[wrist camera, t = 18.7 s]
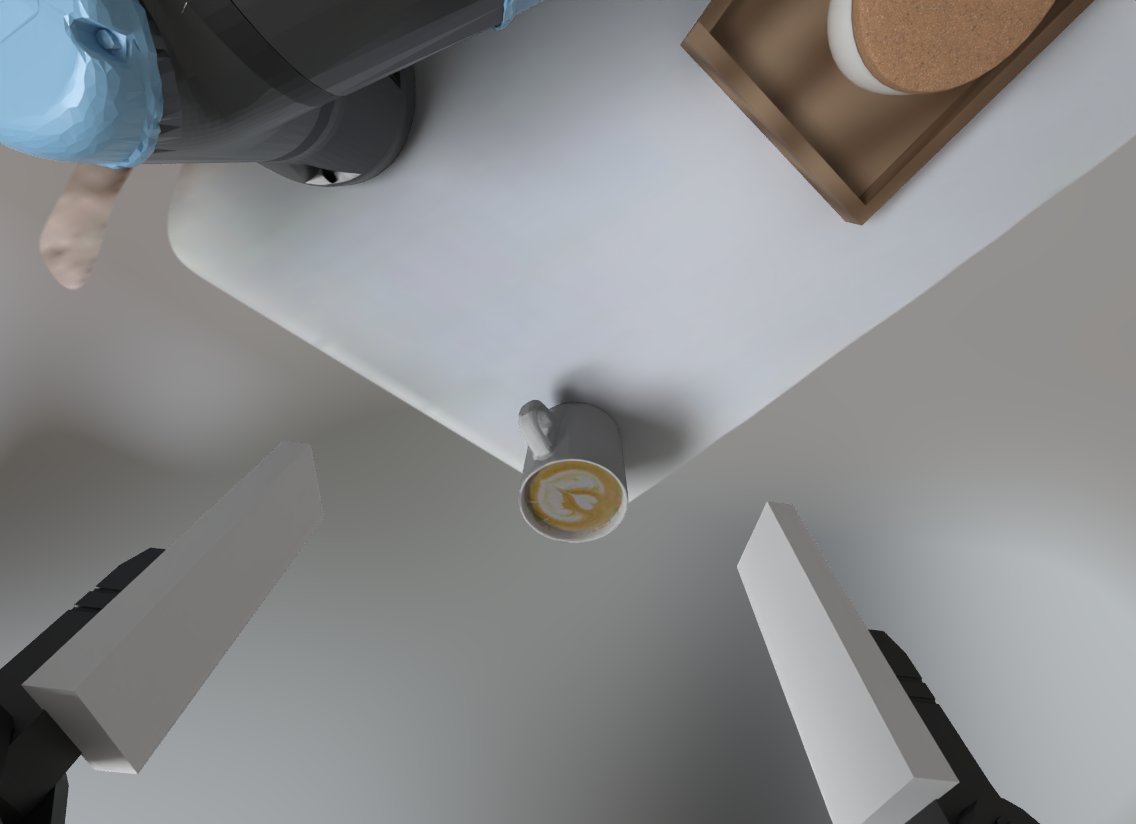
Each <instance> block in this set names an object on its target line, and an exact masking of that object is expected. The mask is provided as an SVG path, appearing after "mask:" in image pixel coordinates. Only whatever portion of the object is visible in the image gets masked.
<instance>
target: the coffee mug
mask: <svg viewBox="0 0 1136 824" xmlns="http://www.w3.org/2000/svg"><path fill="white" fill-rule="evenodd" d="M518 423H519V428H520V432H521V434H522V436H523V438H524V440H525V442H526V443H527V445H528V449H527V454H526V459H525V464H524V469H523V474H522V479H521V484H520V489H519V497H518V501H519V508H520V511H521V513H522V516H523V517H524V519H525V520H526V522H527V523H528V524H529V525H530V526H531V527H532V528H533V529H534V530H535V531H537V532H538V533H540V534H542V535H543V536H546V537H548V538H550V539H553V540H556V541H560V542H567V543H581V542H588V541H593V540H595V539H599V538H601V537H603V536H605V535H607V534H608V533H610V532H612V531H613V530H614V529H615V528H616V527H617V526H618V525H619V524H620V523H621V521H622V520H623V518H624V516H625V514H626V511H627V507H628V492H627V484H626V477H625V469H624V461H623V453H622V445H621V437H620V433H619V429H618V427H617V425H616V423H615V422H614V421H613V419H612V418H611V417H610V416H609V415H608V414H607V413H605V412H604V411H603V410H601V409H599V408H597V407H595V406H593V405H589V404H585V403H575V402H573V403H565V404H561V405H557V406H555V407H552V408H551V409H549V410H548V408H547V407H546V406H545V405H544V404H543V403H542V402H540V401H539V400H532V401H530V402H528V403H526V404H525V405H524V406H522V408H521V410H520V413H519V420H518Z"/></svg>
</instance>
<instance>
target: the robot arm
mask: <svg viewBox="0 0 1136 824" xmlns="http://www.w3.org/2000/svg"><path fill="white" fill-rule="evenodd" d="M542 1H544V0H0V143H2V144H3V145H5V146H7V147H9V148H12V149H14V150H17V151H20V152H23V153H26V154H30V155H33V156H37V157H40V158H45V159H51V160H57V161H68V162H80V163H91V164H97V165H100V166H103V167H110V168H114V169H121V168H124V167H136V166H138V165H140V164H169V163H170V164H172V163H228V162H257V163H259V164H261V165H263V166H264V167H266V168H268V169H270V170H272V171H274V172H276V173H278V174H280V175H282V176H284V177H286V178H289V179H291V180H294V181H297V182H300V183H304V184H308V185H314V186H322V187H335V186H345V185H352V184H357V183H361V182H363V181H366V180H368V179H371V178H373V177H374V176H376V175H378V174H379V173H381V172H382V171H383V170H384V169H386V168H387V167H388V166H389V165H390V164H391V163H392V162H393V160H394V159H395V158H396V157H397V155H398V154H399V152H400V151H401V149H402V147H403V145H404V143H405V141H406V139H407V136H408V133H409V131H410V127H411V124H412V119H413V114H414V106H415V77H414V69H413V64H414V63H416V62H418V61H421V60H423V59H425V58H427V57H429V56H431V55H433V54H436V53H438V52H440V51H442V50H444V49H446V48H448V47H450V46H453V45H455V44H457V43H459V42H461V41H463V40H465V39H467V38H470V37H472V36H474V35H476V34H478V33H480V32H482V31H484V30H487V29H489V28H491V27H493V28H494V29H495V30H497V31H500V30H502V29H505V28H506V26H507V25H509V24H510V23H511V21H512V20H513V18H514V16H516V15H518V14H520V13H522V12H524V11H526V10H528V9H529V8H531V7H533V6H535V5H537V4H539V3H541V2H542ZM323 519H324V514H323V508H322V502H321V497H320V493H319V487H318V481H317V476H316V471H315V466H314V460H313V455H312V450H311V445H310V444H303V443H296V442H288V441H282V442H281V443H280V444H279V445H278V446H277V447H276V448H275V449H274V450H272V451H271V452H270V453H269V454H268V455H267V456H266V457H265V458H264V459H263V460H262V461H261V462H260V463H258V464H257V466H255V467H254V468H253V469H252V470H251V471H250V472H249V473H248V474H247V475H246V476H245V477H243V479H241V480H240V481H239V482H238V483H237V484H236V485H235V486H234V487H233V488H232V489H231V490H230V491H228V492H227V493H226V494H225V495H224V496H223V497H222V498H221V499H220V500H219V501H218V502H217V503H216V504H215V505H214V506H212V507H211V508H210V509H209V510H208V511H207V512H206V513H205V514H204V515H203V516H202V517H201V518H200V519H198V520H197V521H196V522H195V524H193V525H192V526H191V527H190V528H189V529H188V530H187V531H186V532H185V533H184V534H182V535H181V536H180V537H179V538H178V539H177V540H176V541H175V542H174V543H173V544H172V545H171V546H170V547H169V548H168V549H157V548H149V549H147V550H146V551H144V552H142V553H140V554H139V555H137V556H135V557H133V558H132V559H130V560H128V561H126V562H124V563H123V564H121V565H119V566H118V567H117V568H116V569H115V570H114V571H112V572H111V573H110V574H109V575H108V576H107V577H106V578H104V579H103V580H102V581H101V582H100V583H99V584H98V585H97V586H95V589H94V591H90V592H88V593H87V594H86V595H85V596H84V597H83V598H82V599H80V600H79V601H78V602H77V603H76V604H75V605H74V608H73V609H72V610H68V611H67V612H65V613H64V614H63V615H62V616H61V617H60V618H59V619H57V620H56V621H55V622H54V623H53V624H52V625H51V626H49V627H48V628H47V629H46V630H45V631H44V632H43V633H42V634H40V635H39V636H38V637H37V638H36V639H35V640H33V641H32V642H31V643H30V644H29V645H28V646H27V647H25V648H24V649H23V650H22V651H21V652H20V653H19V654H17V655H16V656H15V657H14V658H13V659H12V660H11V661H9V662H8V663H7V664H6V665H5V666H4V667H3V668H1V669H0V824H65V816H66V815H65V814H66V806H67V797H68V787H69V785H68V780H67V775H66V771H67V770H68V769H69V768H70V767H71V766H72V764H73V763H74V762H75V761H76V760H77V758H78V757H79V756H80V755H82V756H83V757H84V758H85V760H86V761H87V762H88V763H89V764H90V765H91V767H93V769H94V770H102V771H111V772H122V773H132V774H138V773H139V772H140V770H141V769H142V767H143V766H144V765H145V764H146V762H147V761H148V759H149V758H150V757H151V755H152V754H153V752H154V751H155V750H156V748H157V747H158V746H159V744H160V743H161V741H162V740H163V739H164V737H165V736H166V735H167V733H168V732H169V730H170V729H171V728H172V726H173V725H174V724H175V722H176V721H177V719H178V718H179V717H180V715H181V714H182V713H183V711H184V710H185V708H186V707H187V706H188V704H189V703H190V702H191V700H192V699H193V697H194V696H195V695H196V693H197V692H198V691H199V689H200V688H201V686H202V685H203V684H204V682H205V681H206V680H207V678H208V677H209V675H210V674H211V673H212V671H213V670H214V669H215V667H216V666H217V664H218V663H219V662H220V660H221V659H222V658H223V656H224V655H225V653H226V652H227V651H228V649H229V648H230V646H231V645H232V644H233V642H234V641H235V640H236V638H237V637H238V636H239V634H240V633H241V631H242V630H243V629H244V627H245V626H246V624H247V623H248V622H249V620H250V619H251V617H252V616H253V615H254V613H255V612H256V611H257V609H258V608H259V606H260V605H261V604H262V602H263V601H264V600H265V598H266V597H267V596H268V594H269V593H270V591H271V590H272V589H273V587H274V586H275V585H276V583H277V582H278V580H279V579H280V578H281V576H282V575H283V574H284V572H285V571H286V569H287V568H288V567H289V565H290V564H291V563H292V561H293V560H294V558H295V557H296V556H297V554H298V553H299V552H300V550H301V549H302V547H303V546H304V545H305V543H306V542H307V541H308V539H309V538H310V536H311V535H312V533H313V532H314V531H315V530H316V528H317V527H318V525H319V524H320V523H321V521H322V520H323ZM737 568H738V571H739V573H740V576H741V579H742V581H743V584H744V587H745V589H746V592H747V595H748V597H749V600H750V602H751V605H752V608H753V611H754V613H755V616H756V619H757V622H758V624H759V627H760V630H761V632H762V635H763V637H764V640H765V643H766V646H767V648H768V651H769V654H770V656H771V659H772V662H773V664H774V667H775V670H776V672H777V675H778V678H779V680H780V683H781V686H782V688H783V691H784V694H785V697H786V699H787V702H788V704H789V707H790V710H791V712H792V715H793V718H794V721H795V723H796V726H797V728H798V731H799V734H800V737H801V739H802V742H803V744H804V747H805V750H806V753H807V755H808V758H809V761H810V763H811V766H812V769H813V772H814V774H815V777H816V779H817V782H818V785H819V787H820V790H821V793H822V796H823V798H824V801H825V803H826V806H827V809H828V812H829V814H830V817H831V820H832V822H833V824H1040V823H1038V822H1037V821H1036V820H1035V819H1034V818H1032V817H1031V816H1030V815H1029V814H1028V813H1026V812H1025V811H1024V810H1023V809H1021V808H1020V807H1018V806H1016V805H1014V804H1012V803H1010V802H1009V801H1007V800H1005V799H1003V798H1001V797H1000V796H999V795H998V793H997V792H996V791H995V789H994V788H993V786H992V785H991V784H990V782H989V781H988V779H987V778H986V776H985V775H984V773H983V772H982V770H981V768H980V767H979V765H978V764H977V762H976V761H975V759H974V758H973V756H972V755H971V753H970V751H969V750H968V748H967V747H966V746H965V744H964V742H963V741H962V739H961V738H960V736H959V734H958V733H957V731H956V730H955V728H954V727H953V725H952V724H951V722H950V721H949V719H948V718H947V716H946V715H945V713H944V712H943V710H942V708H941V707H940V705H939V704H936V702H935V698H934V696H933V694H932V693H931V692H930V690H929V688H928V687H927V685H926V684H925V683H923V682H922V678H921V676H920V675H919V673H918V671H917V670H916V668H915V667H914V665H913V664H912V662H911V661H910V659H909V658H908V656H907V654H906V653H905V652H904V651H903V650H902V649H901V648H900V647H899V646H898V645H897V644H896V643H895V642H894V641H893V640H892V639H891V638H890V637H889V636H888V635H887V634H886V633H885V632H884V631H877V630H869V629H867V627H866V626H865V624H864V622H863V621H862V619H861V617H860V616H859V614H858V612H857V611H856V609H855V607H854V606H853V604H852V602H851V601H850V599H849V597H848V596H847V594H846V592H845V591H844V589H843V587H842V586H841V584H840V582H839V581H838V579H837V577H836V576H835V574H834V572H833V571H832V569H831V568H830V566H829V564H828V562H827V561H826V559H825V557H824V556H823V554H822V552H821V551H820V549H819V547H818V546H817V544H816V542H815V541H814V539H813V538H812V536H811V534H810V533H809V531H808V529H807V527H806V526H805V524H804V523H803V521H802V519H801V518H800V516H799V515H798V513H797V511H796V509H795V508H794V506H793V505H791V504H783V503H775V502H767V503H766V505H765V508H764V509H763V512H762V514H761V516H760V518H759V520H758V523H757V525H756V527H755V529H754V531H753V533H752V535H751V538H750V540H749V542H748V544H747V546H746V548H745V551H744V553H743V555H742V557H741V559H740V561H739V563H738V566H737Z"/></svg>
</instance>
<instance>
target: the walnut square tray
mask: <svg viewBox="0 0 1136 824" xmlns="http://www.w3.org/2000/svg"><path fill="white" fill-rule="evenodd" d="M1093 1H1094V0H1055V2H1054V4H1053V5H1052V6H1051V8H1050V9H1049V11H1048V12H1047V14H1046V15H1045V16H1044V18H1043V19H1042V21H1041V22H1040V23H1039V25H1038V26H1037V27H1036V28H1035V29H1034V31H1033V32H1032V33H1031V34H1030V35H1029V37H1028V38H1027V39H1026V40H1025V41H1024V42H1023V43H1022V44H1021V45H1020V46H1019V47H1018V48H1017V49H1016V50H1015V51H1014V52H1013V53H1012V54H1011V55H1010V56H1008V57H1007V58H1006V59H1005V60H1003V61H1002V62H1001V63H1000V64H998V65H997V66H996V67H995V68H993V69H992V70H990V71H988V72H987V73H985V74H984V75H982V76H980V77H979V78H977V79H975V80H973V81H971V82H968V83H966V84H964V85H962V86H959V87H956V88H953V89H949V90H946V91H941V92H935V93H928V94H910V95H883V94H878V93H874V92H870V91H867V90H864V89H862V88H860V87H858V86H856V85H854V84H853V83H852V82H851V81H849V80H848V79H847V78H846V77H845V76H844V75H843V73H842V72H841V71H840V70H839V68H838V67H837V65H836V63H835V61H834V59H833V57H832V54H831V51H830V47H829V42H828V35H827V17H828V9H829V3H830V0H712V1H711V2H710V3H709V5H708V6H707V8H706V9H705V11H704V12H703V13H702V15H701V16H700V18H699V19H698V21H697V22H696V23H695V25H694V26H693V28H692V29H691V31H690V32H689V34H688V35H687V36H686V38H685V39H684V41H683V42H682V44H681V46H682V47H683V48H684V49H685V51H686V52H687V53H688V54H689V55H690V56H691V57H692V58H693V59H694V60H695V61H696V62H697V63H698V64H699V65H700V67H701V68H702V69H703V70H704V71H705V72H706V73H707V74H708V75H709V76H710V77H711V78H712V79H713V80H714V81H715V83H716V84H717V85H718V86H719V87H720V88H721V89H722V90H723V91H724V92H725V93H726V94H727V95H728V96H729V98H730V99H731V100H732V101H733V102H734V103H735V104H736V105H737V106H738V107H739V108H740V109H741V110H742V111H743V112H744V114H745V115H746V116H747V117H748V118H749V119H750V120H751V121H752V122H753V123H754V124H755V125H756V126H757V127H758V128H759V130H760V131H761V132H762V133H763V134H764V135H765V136H766V137H767V138H768V139H769V140H770V141H771V142H772V143H773V144H774V146H775V147H776V148H777V149H778V150H779V151H780V152H781V153H782V154H783V155H784V156H785V157H786V158H787V159H788V160H789V162H790V163H791V164H792V165H793V166H794V167H795V168H796V169H797V170H798V171H799V172H800V173H801V174H802V175H803V177H804V178H805V179H806V180H807V181H808V182H809V183H810V184H811V185H812V186H813V187H814V188H815V189H816V190H817V191H818V193H819V194H820V195H821V196H822V197H823V198H824V199H825V200H826V201H827V202H828V203H829V204H830V205H831V206H832V207H833V209H834V210H835V211H836V212H837V213H838V214H839V215H840V216H841V217H842V218H843V219H844V220H845V221H846V222H850V223H854V224H858V225H863V224H864V223H865V222H866V221H867V220H868V219H869V218H870V217H871V216H872V215H873V214H874V213H875V212H876V211H877V210H878V209H879V208H880V207H881V206H882V205H883V204H885V203H886V202H887V201H888V200H889V199H890V198H891V197H892V196H893V195H894V194H895V193H896V192H897V191H898V190H899V189H900V188H901V187H902V186H903V185H904V184H905V183H906V182H907V181H908V180H909V179H910V178H911V177H912V176H913V175H914V174H915V173H917V172H918V171H919V170H920V169H921V168H922V167H923V166H924V165H925V164H926V163H927V162H928V161H929V160H930V159H931V158H932V157H933V156H934V155H935V154H936V153H937V152H938V151H939V150H940V149H941V148H942V147H943V146H944V145H945V144H946V143H947V142H949V141H950V140H951V139H952V138H953V137H954V136H955V135H956V134H957V133H958V132H959V131H960V130H961V129H962V128H963V127H964V126H965V125H966V124H967V123H968V122H969V121H970V120H971V119H972V118H973V117H974V116H975V115H976V114H977V113H978V112H980V111H981V110H982V109H983V108H984V107H985V106H986V105H987V104H988V103H989V102H990V101H991V100H992V99H993V98H994V97H995V96H996V95H997V94H998V93H999V92H1000V91H1001V90H1002V89H1003V88H1004V87H1005V86H1006V85H1007V84H1008V83H1009V82H1010V81H1012V80H1013V79H1014V78H1015V77H1016V76H1017V75H1018V74H1019V73H1020V72H1021V71H1022V70H1023V69H1024V68H1025V67H1026V66H1027V65H1028V64H1029V63H1030V62H1031V61H1032V60H1033V59H1034V58H1035V57H1036V56H1037V55H1038V54H1039V53H1040V52H1041V51H1042V50H1044V49H1045V48H1046V47H1047V46H1048V45H1049V44H1050V43H1051V42H1052V41H1053V40H1054V39H1055V38H1056V37H1057V36H1058V35H1059V34H1060V33H1061V32H1062V31H1063V30H1064V29H1065V28H1066V27H1067V26H1068V25H1069V24H1070V23H1071V22H1072V21H1073V20H1074V19H1076V18H1077V17H1078V16H1079V15H1080V14H1081V13H1082V12H1083V11H1084V10H1085V9H1086V8H1087V7H1088V6H1089V5H1090V4H1091V3H1092V2H1093Z"/></svg>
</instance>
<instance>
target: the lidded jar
mask: <svg viewBox="0 0 1136 824" xmlns="http://www.w3.org/2000/svg"><path fill="white" fill-rule="evenodd" d="M1054 2H1055V0H830V3H829V9H828V17H827V35H828V42H829V47H830V51H831V54H832V57H833V59H834V61H835V63H836V65H837V67H838V68H839V70H840V71H841V72H842V73H843V75H844V76H845V77H846V78H847V79H848V80H849V81H851V82H852V83H853V84H854V85H856V86H858V87H860V88H862V89H864V90H867V91H870V92H874V93H878V94H883V95H910V94H928V93H935V92H941V91H946V90H949V89H953V88H956V87H959V86H962V85H964V84H966V83H968V82H971V81H973V80H975V79H977V78H979V77H980V76H982V75H984V74H985V73H987V72H988V71H990V70H992V69H993V68H995V67H996V66H997V65H998V64H1000V63H1001V62H1002V61H1003V60H1005V59H1006V58H1007V57H1008V56H1010V55H1011V54H1012V53H1013V52H1014V51H1015V50H1016V49H1017V48H1018V47H1019V46H1020V45H1021V44H1022V43H1023V42H1024V41H1025V40H1026V39H1027V38H1028V37H1029V35H1030V34H1031V33H1032V32H1033V31H1034V29H1035V28H1036V27H1037V26H1038V25H1039V23H1040V22H1041V21H1042V19H1043V18H1044V16H1045V15H1046V14H1047V12H1048V11H1049V9H1050V8H1051V6H1052V5H1053V4H1054Z"/></svg>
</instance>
